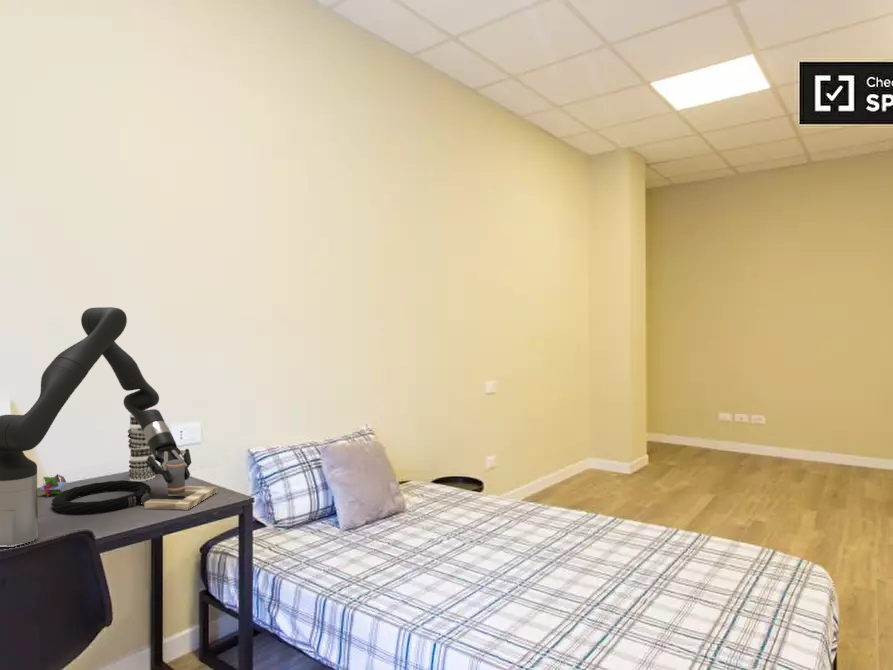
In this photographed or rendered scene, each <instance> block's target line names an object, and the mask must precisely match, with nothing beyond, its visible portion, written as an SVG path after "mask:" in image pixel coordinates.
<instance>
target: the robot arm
mask: <svg viewBox="0 0 893 670" xmlns="http://www.w3.org/2000/svg"><path fill="white" fill-rule="evenodd" d="M80 323H81V327H82V330H83V331H84V332H85V334H86V335H87V336H86V337H84V338H82V339H81V340H80V341H78V342H76V343H74V344H73V345H70V346H69V347H67V348H65V349H64V350H63V351H61V352H60V353H59V354H57V356H56V357H55V358H54V359H53V360H52V361H51V363H50V364H49V365H48V366H47V367H46V368H45V370H44V371H43V373H42V375H41V377H40V379H41V380H40V394H39V397H38V398H37V400H36V401H35V403H34V404H33V405H32V407H31V408H30V409H29V410H28V411H27V412H26V413H25V414H2V415H0V545H7V546H9V545H10V546H11V545H15V544H20V543H27V542H30V543H32V542H31V541H33V540H35V539H36V540H38V539H39V538H38V537H39V516H38V515H39V513H38V512H39V511H38V510H39V509H38V506H39V505H38V503H39V502H38V465H37V463H36V462H35V461H34V460H31V459H30V458H28V457H27V456H26V454H25V453H24V452H26V451H31V450H33V449H35V448H36V447H38V445H40V443H41V442H42V441H43V439H44V438H45V436H46V435H47V433H48V432H49V429H50V428H51V427H52V425H53V423H54V422H55V419H56V418H57V416H58V415H59V413H60V411H62V409H63V407H64V406H65V405H66V403H67V401H68V400H69V399H70V397H71V396H72V394H73V393H74V392H75V390H76V389H77V388H78V387H79V386H80V385H81V383H82V382H83V381H84V379H85V378H86V377H87V375H88V374H89V372H90V370H92V368H93V367H94V366H95V364H96V363H97V362H98V361H99V359H101V357H102V356H103V357H104V359H105V360H106V362H107V363H108V364H109V366H110V368H111V369H112V371H113V373H114V374H115V376H116V379H117V381H118V383H119V385H120V386H121V388H122V389H123V390H124V391H126V392H127V391H133V392H131V393H129V394H127V395H125V397H124V399H123V406H124V407H125V409H126V410H127V411H128V413H130V415H131V414H132V415H133V416H134V417H135V418H136V419H137V421H138V422H139V424H140V426H141V428H142V430H143V432H144V436H145V439H146V441H147V443H148V445H149V448H150V450H151V452H152V454H153V456H148V458H147V460H146V464H147V465H148V466H149V467H150V469H151V470H152V471H153V472H154V473H155V476H156V475H162V478H163V480H164V481H165V482H166V483H167V485H168V484H171V483H172V481H173V479H172V477H171V474H170V472H169V471H167V462H168V461H170V460H175V459H183V460H184V462H185V481H187V480H189V478H190V476H191V472H190V471H189V468H190V465H191V464H192V459H191V454H190V449H189V448H186V449H185V450H181V449H180V448H179V447H178V446H177V442H176V441H175V437H174V436H173V434H172V431H171V430H170V428H169V427H168V425H167V423H166V422H165V419H164V417H163V416H162V413H161V412H160V411H159V410H158V409H157V408H155V409H154V408H153V409H150V408H152V407H155V406H157V405H158V403H159V401H160V396H159V393H158V392H157V390H155V388H153V387H152V385H150V383H148V381H147V380H146V379H145V378H144V376H143V374H142V371H141V369H140V367H139V366H138V364H137V362H136V360H134V358H133V357H132V356H131V355H130V354H129V353H128V352H126V351H125V350H124V349H123V348H122V347H121V346H120V345H118V344H117V342H116V340H117V339H118V338H119V337H120V336H121V335H122V334H123V332H124V331H125V329H126V327H127V323H128V318H127V314H126V312H125V311H124V310H122V309H121V308H119V307H112V306H110V307H109V306H108V307H107V306H105V307H104V306H103V307H99V306H98V307H90V308H87V309H85V310H84V311H83V313H82V315H81V318H80ZM144 410H145V411H144ZM36 540H35V541H36ZM33 542H34V541H33ZM27 544H28V543H27Z"/></svg>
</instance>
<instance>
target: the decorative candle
mask: <svg viewBox="0 0 893 670" xmlns="http://www.w3.org/2000/svg"><path fill="white" fill-rule="evenodd" d="M144 411H145V410H144ZM129 421H130V422H129V429H128V431H127V434H128V435H127V438H129V439H128V440H127V442H128V443H129V444H128V445H127V447H128V448H129V450H130V455H129V461H128V463H129V465H128V468H130V469H129V470H128V472H129V474H128V476H129V479H130V480H131V481H141V482H147V481H146V480H148V481H151V480H150V479H152V480H154V479H155V478H156V474H155V473H154V472H153V471H152V470H151V469H150V467H149V466H148V465H147V464H146V460H147V458H148V456H153V454H152V452H151V450H150V448H149V445H148V443H147V441H146V439H145V436H144V432H143V430H142V428H141V426H140V424H139V422H138V421H137V419H136V418H135V417H134V416H133V415H132V414H131V413H130V414H129ZM153 478H154V479H153ZM130 480H129V481H130Z"/></svg>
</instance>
